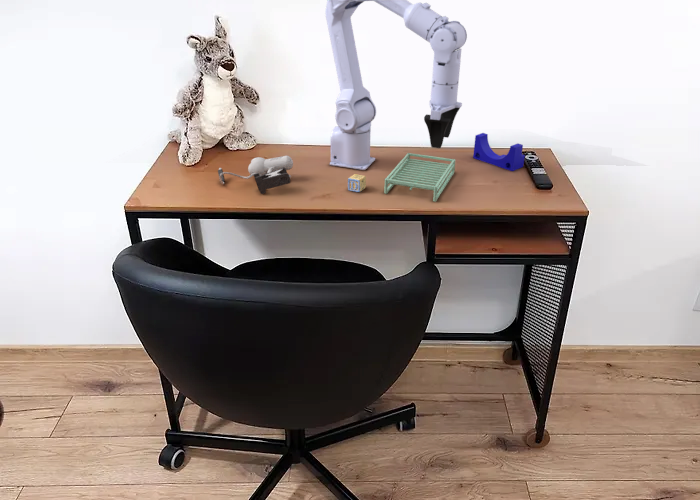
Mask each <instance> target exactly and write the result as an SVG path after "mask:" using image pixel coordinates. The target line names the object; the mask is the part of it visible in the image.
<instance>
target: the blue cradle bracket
mask: <svg viewBox="0 0 700 500" xmlns="http://www.w3.org/2000/svg"><path fill="white" fill-rule="evenodd" d="M488 135H489V134H488V133H485V132H482V133H478V134H475V136H474V145H473V156H472V157H473V159H475V160H479V161H481V162H483V163H487V164H490V165H493V166H496V167H498V168H502V169H505V170H507V171H510V172H514V171H517V170H520V169H521V168H523V167H524V164H525V158H526V154H523V148H524V145H523V144H521V143H518V142H517V143H515V144H512V145H510V146H509V150H508V152H507V153H506V154H501V155H499V154H498V153H496V152H495V151H493V149H492V147H491V145H490V144H489V138H488V137H489V136H488Z"/></svg>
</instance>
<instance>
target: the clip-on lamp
mask: <svg viewBox="0 0 700 500" xmlns="http://www.w3.org/2000/svg"><path fill="white" fill-rule="evenodd" d="M293 166H294V160H293V159H292V157H291V156H289V155H282V156H276V157H271V158H266V159H265V158H264V157H261V156H260V157H259V156H258V157H254V158H252V159H251V160H250V163H249V164H248V168H247V171H248V173H249V176H244V175H240V174H236V173H233V172H229V171H224V170H223V169H222V167H219V168H218V170H217V175H218V179H219V183H220V184H221V185H225V183H226V178H225V175H229V176H234V177H236V178H237V177H238V178H240V179H244V180H248V179H251V178H253V179H254V181H255V184H256V186H257V189H258V191H259V193H260V195H264V194H266V193H267V190H270V189H273V188H278V187H281V186H285V185H289V184H290V183H291V178H292V175H291V174H289V173H288V172H287V171H290V170H291V169H292V168H293Z"/></svg>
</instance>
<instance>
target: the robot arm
mask: <svg viewBox="0 0 700 500" xmlns="http://www.w3.org/2000/svg"><path fill="white" fill-rule="evenodd" d="M364 2H375V3H377V4H378V5H379V6H381V7H383V8H385V9H387V10H389V11H391V12H392V13H393V14H396V15H397V16H398V17H401V18H402V19H403V22H404V26H405V28H407V29H408V30H410V31H411V32H413V33H414V34H415V35H417V36H419V38H421V39H423V40H425V41H426V42H428V43H429V45H430V47H431V49H432V51H433V59H432V60H433V61H432V73H431V74H432V76H431V89H430V90H431V91H430V100H429V102H428V105H429V108H430V114H428V113H427V114H425V115H424V117H423V120H424V121H423V122H424V124H425V125H426V128H427V131H428V134H429V143H430V147H431V148H434V149H441V148H442V146H443V144H444V143H443V142H444V139H445V138H447V139H448V138H449V137H450V134H451V132H452V128H453V124H454V122H455V119H456V116H457V114H458V112H459V111H460V109H461V108H462V106H463V103H462V102H460V101H458V93H459V80H460V72H461V62H462V61H461V60H462V59H461V57H462V48H463V46H464V45H465V44H466V42H467V40H468V39H467V38H468V34H467V30H466V28H465V26H464V25H463V24H461V22H460V21H458V20H451V21H449V17H448V16H446V15H443V16H442V15H441V14H439V13H437V12H436V11H435V10H433V9H432V8H431V6H432V5H431V4H430V3H429V2H423V3H422V2H416V3H414V4H413V3H412V2H410V1H409V0H326V5H325V13H324V14H325V20H326V25H327V29H328V30H327V31H328V35H329V38H330V39H329V40H330V45H331V50H332V56H333V61H334V65H335V72H336V75H337V80H338V86H339V94H338V96H337V97H336V99H335V105H336V110H335V115H334V117H335V123H336V126H334V127H333V129H332V130H331V133H330V162H329V166H333V167H340V168H347V169H355V170H360V171H366V169H368V168H369V167H370V166H371V165H372V164H373V163H374V161H376V157H373V156H371V131H372V129H371V128H372V122H373V121H374V119H375V118H376V116H377V106H376V105H375V103H374V101H373V100H372V98H371V93H370V91H369V90H368V89H367V88H366V87H364V84H363V80H362V79H363V78H362V72H361V68H360V62H359V57H358V51H357V45H356V40H355V35H354V30H353V23H352V16H353V15H354V13H355V12H356V10H357V9H358V7H360V5H361V4H363V3H364Z"/></svg>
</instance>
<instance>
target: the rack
mask: <svg viewBox="0 0 700 500" xmlns="http://www.w3.org/2000/svg"><path fill="white" fill-rule="evenodd" d="M411 157H416V159H415V158H411ZM417 158H424V159H431V160H437V161H438V162H437V161H431V160H423V159H417ZM439 161H444V162H439ZM445 161H446V162H450V163H445ZM455 171H456V158H447V157H442V156H441V157H439V156H432V155H427V154H426V155H425V154H419V153H413V152H412V153H411V152H407V153H406V155H405V156H404V157H403V158H402V159H400V161H399V162H398V164H396V166H395V167H394V168H393V169H392V170H391V172H390V173H389V174H388V175H387V177H385V178H384V187H383V188H384V189H383V190H384V191H383V192H384V193H383V194H385V195H388V193H389V192H390V190H391V189H392V188H393V187H394V186H402V187H408V188H409V191H412V190H413V189H414V188H415V189H421V190H427V191H433V198H432V201H433V202H434V203H437V201H438V199H439V197H440V195H441V194H442V193H443V191H444V190H445V188H446V187H447V185H448V183H449V182H450V181H451V179H452V177H453V176H454V174H455Z"/></svg>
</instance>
